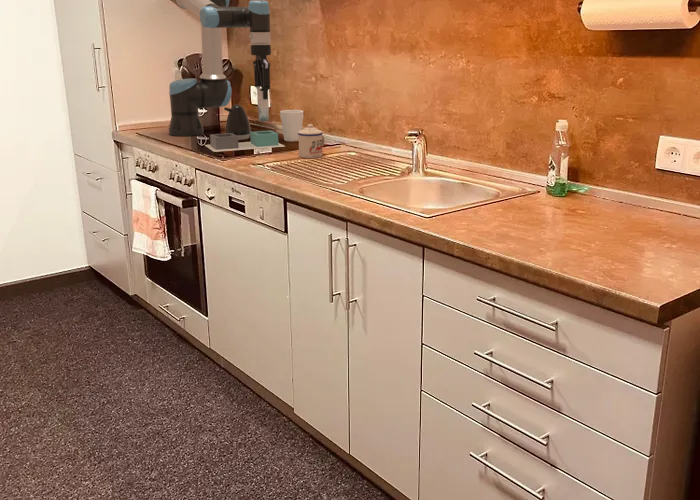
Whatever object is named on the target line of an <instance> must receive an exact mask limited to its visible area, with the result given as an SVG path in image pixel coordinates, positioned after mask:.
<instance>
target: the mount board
mask: <svg viewBox="0 0 700 500" xmlns="http://www.w3.org/2000/svg"><path fill="white" fill-rule="evenodd" d="M209 138H210V139H209V140H210V144H204V146H205V147H206V148H208V149H209V150H211V151H212V152H213V153H215V152H216V153H217V152H218V153H219V152H228V151H229V152H230V151H232V152H233V151H243V150H257V149H270V148H281V147H282V148H284V147H286V145H284V144H281V143H280V142H278V144H279V145H273V146H260V147H257V146H255V145H253V144H251V141H241V142H239V140H238V136H236V135H235V134H233V133H226V132H225V133H216V134H215V133H214V134H209Z"/></svg>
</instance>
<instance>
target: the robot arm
mask: <svg viewBox="0 0 700 500" xmlns="http://www.w3.org/2000/svg"><path fill="white" fill-rule="evenodd" d="M173 1H174V2H175V4H177V5H178V6H179V7H180V8H182V9H186V10H189V11H190V12H192V13H193V14H194V15H196V16H197V17H198V18H199V21H200V24H201V25H200V28H201V29H200V31H201V32H200V33H201V34H200V35H201V57H202V58H201V60H202V73H201V74H200V75H199V80H198V81H197V79H196V78H192V77H191V78H181V79H178V80H173V81H171V82H170V83H169V91H168V92H169V93H168V94H169V101H170V103H169V104H170V113H171V117H170V122H169V127H168V135H169V136H176V137H193V136H201V135H203V134H204V133H205V131H204V126H203V124H202V121H201V119H200V115H199V109H209V108H210V109H211V108H216V109H218V108H221V107H222V108H223V107H224V108H225V107H226V106H228V104H229V103H230V101H231V99H232V86H231V85H232V84H231V82H230V81H229V80H227V76H226V75H225V74H224V71H223V40H222V39H223V38H222V35H223V34H222V33H223V31H222V29H223V28H225V29H226V28H227V29H228V28H229V29H231V28H232V29H233V28H234V29H235V28H238V29H239V28H243V29H247V28H249V32H250V34H249V35H248V38H249V39H250V40H249V41H250V44H251V45H250V54H251V56H255V60H253V62H252V64H253V75H254V88H256V90H257V86H261V89H260V91H261V108H268V109H270V108H269V106H270V105H269V90H270V89H271V79H270V78H271V76H270V75H271V74H270V67H271V62H269V61H268V59H267V58H268V57H267V56H270V55H271V54H272V47H271V43H272V42H271V41H272V38H271V17H270V16H271V15H270V14H271V10H270V4H269V1H267V0H250V1H249V2H248V6H230V0H173ZM256 99H257V101H258V97H257V96H256Z"/></svg>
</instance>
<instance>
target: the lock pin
mask: <svg viewBox="0 0 700 500" xmlns="http://www.w3.org/2000/svg"><path fill="white" fill-rule="evenodd" d="M260 89H261V86H257V89H256V94H257V95H256V98H257V97H258V100H257V114H258V122H269V121H270V119H269V117H270V116H269V114H270V113H269V111H270V110H269V108H261V91H260Z"/></svg>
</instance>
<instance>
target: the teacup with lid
mask: <svg viewBox="0 0 700 500" xmlns="http://www.w3.org/2000/svg"><path fill="white" fill-rule="evenodd" d="M323 134H324V133H323V131H322V130H320V129H318V128H317V127H314V125H313V124H310V123H309V124H307V127H304V128H302V130H300V131H299V132H298V135H299V141H298V156H299V157H300V158H304V159H318V158H321V157H322V156H323V147H324V144H325V136H324V135H323Z"/></svg>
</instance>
